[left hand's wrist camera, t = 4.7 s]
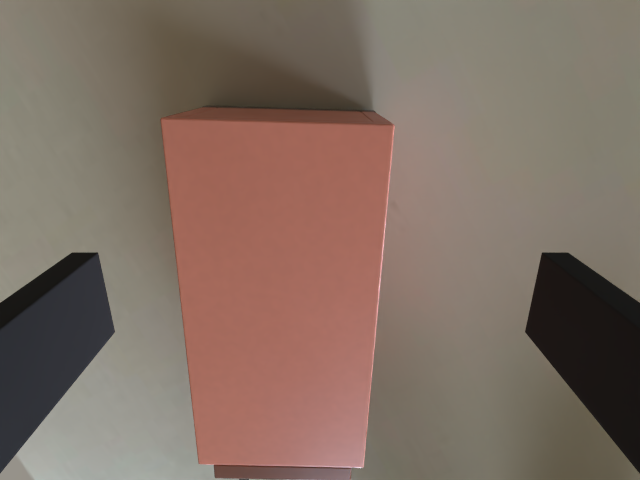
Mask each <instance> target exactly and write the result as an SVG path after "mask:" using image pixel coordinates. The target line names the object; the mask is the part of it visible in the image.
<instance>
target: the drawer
mask: <svg viewBox="0 0 640 480" xmlns="http://www.w3.org/2000/svg"><path fill="white" fill-rule="evenodd" d="M351 469H352V467H310V466H263V465H216V464H214V473H215V478H238V479H239V480H249V479H285V480H351Z"/></svg>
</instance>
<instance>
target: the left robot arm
mask: <svg viewBox="0 0 640 480" xmlns="http://www.w3.org/2000/svg"><path fill="white" fill-rule="evenodd" d="M114 332H115V330H114V326H113V321H112V316H111V311H110V307H109V302H108V297H107V293H106V288H105V283H104V279H103V274H102V269H101V264H100V260H99V255H98V253H71V254H69V255H68V256H67V257H65V258H64V259H62V260H61V261H59V262H58V263H57V264H55V265H54V266H52V267H51V268H49V269H48V270H47V271H45V272H44V273H42V274H41V275H39V276H38V277H37V278H35V279H34V280H32V281H31V282H29V283H28V284H27V285H25V286H24V287H22V288H21V289H19V290H18V291H17V292H15V293H14V294H12V295H11V296H9V297H8V298H7V299H5V300H4V301H2V302H1V303H0V473H1V472H2V471H3V469H4V468H5V467H6V466H7V464H8V463H9V462H10V461H11V459H12V458H13V457H14V456H15V454H16V453H17V452H18V451H19V450H20V448H21V447H22V446H23V445H24V443H25V442H26V441H27V440H28V438H29V437H30V436H31V435H32V434H33V432H34V431H35V430H36V429H37V427H38V426H39V425H40V424H41V422H42V421H43V420H44V419H45V417H46V416H47V415H48V414H49V413H50V411H51V410H52V409H53V408H54V406H55V405H56V404H57V403H58V401H59V400H60V399H61V398H62V397H63V395H64V394H65V393H66V392H67V390H68V389H69V388H70V387H71V385H72V384H73V383H74V382H75V381H76V379H77V378H78V377H79V376H80V374H81V373H82V372H83V371H84V369H85V368H86V367H87V366H88V364H89V363H90V362H91V361H92V360H93V358H94V357H95V356H96V355H97V353H98V352H99V351H100V350H101V348H102V347H103V346H104V345H105V344H106V342H107V341H108V340H109V339H110V337H111V336H112V335H113V334H114ZM525 332H526V334H527V335H528V336H529V337H530V339H531V340H532V341H533V342H534V344H535V345H536V346H537V347H538V348H539V350H540V351H541V352H542V353H543V355H544V356H545V357H546V358H547V360H548V361H549V362H550V363H551V364H552V366H553V367H554V368H555V369H556V371H557V372H558V373H559V374H560V376H561V377H562V378H563V379H564V381H565V382H566V383H567V384H568V385H569V387H570V388H571V389H572V390H573V392H574V393H575V394H576V395H577V397H578V398H579V399H580V400H581V401H582V403H583V404H584V405H585V406H586V408H587V409H588V410H589V411H590V413H591V414H592V415H593V416H594V417H595V419H596V420H597V421H598V422H599V424H600V425H601V426H602V427H603V429H604V430H605V431H606V432H607V434H608V435H609V436H610V437H611V438H612V440H613V441H614V442H615V443H616V445H617V446H618V447H619V448H620V450H621V451H622V452H623V453H624V454H625V456H626V457H627V458H628V459H629V461H630V462H631V463H632V464H633V466H634V467H635V468H636V469H637V471H638V472H639V473H640V303H639V302H638V301H636V300H635V299H633V298H632V297H631V296H629V295H628V294H626V293H625V292H623V291H622V290H621V289H619V288H618V287H616V286H615V285H613V284H612V283H611V282H609V281H608V280H606V279H605V278H603V277H602V276H601V275H599V274H598V273H596V272H595V271H593V270H592V269H591V268H589V267H588V266H586V265H585V264H583V263H582V262H581V261H579V260H578V259H576V258H575V257H573V256H572V255H571V254H569V253H542V255H541V260H540V264H539V269H538V274H537V279H536V283H535V288H534V293H533V297H532V302H531V307H530V311H529V316H528V321H527V325H526V330H525Z"/></svg>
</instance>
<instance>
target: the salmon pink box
mask: <svg viewBox="0 0 640 480" xmlns="http://www.w3.org/2000/svg"><path fill="white" fill-rule="evenodd" d="M161 127H162V137H163V146H164V155H165V164H166V173H167V182H168V191H169V200H170V209H171V218H172V227H173V236H174V245H175V254H176V263H177V272H178V281H179V290H180V299H181V308H182V317H183V326H184V335H185V344H186V353H187V362H188V371H189V381H190V390H191V399H192V408H193V417H194V426H195V435H196V444H197V453H198V462H199V464H216V465H263V466H310V467H357V468H363V467H364V458H365V447H366V436H367V425H368V414H369V403H370V392H371V381H372V370H373V358H374V347H375V336H376V325H377V314H378V303H379V292H380V281H381V270H382V259H383V248H384V237H385V226H386V215H387V204H388V193H389V182H390V171H391V160H392V149H393V137H394V124H392V123H391V122H389V121H388V120H386V119H385V118H383V117H381V116H380V115H378V114H377V113H376V112H375V111H370V110H335V109H300V108H265V107H230V106H204V107H202V108H198V109H194V110H190V111H186V112H182V113H178V114H174V115H170V116H167V117H163V118H161Z"/></svg>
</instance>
